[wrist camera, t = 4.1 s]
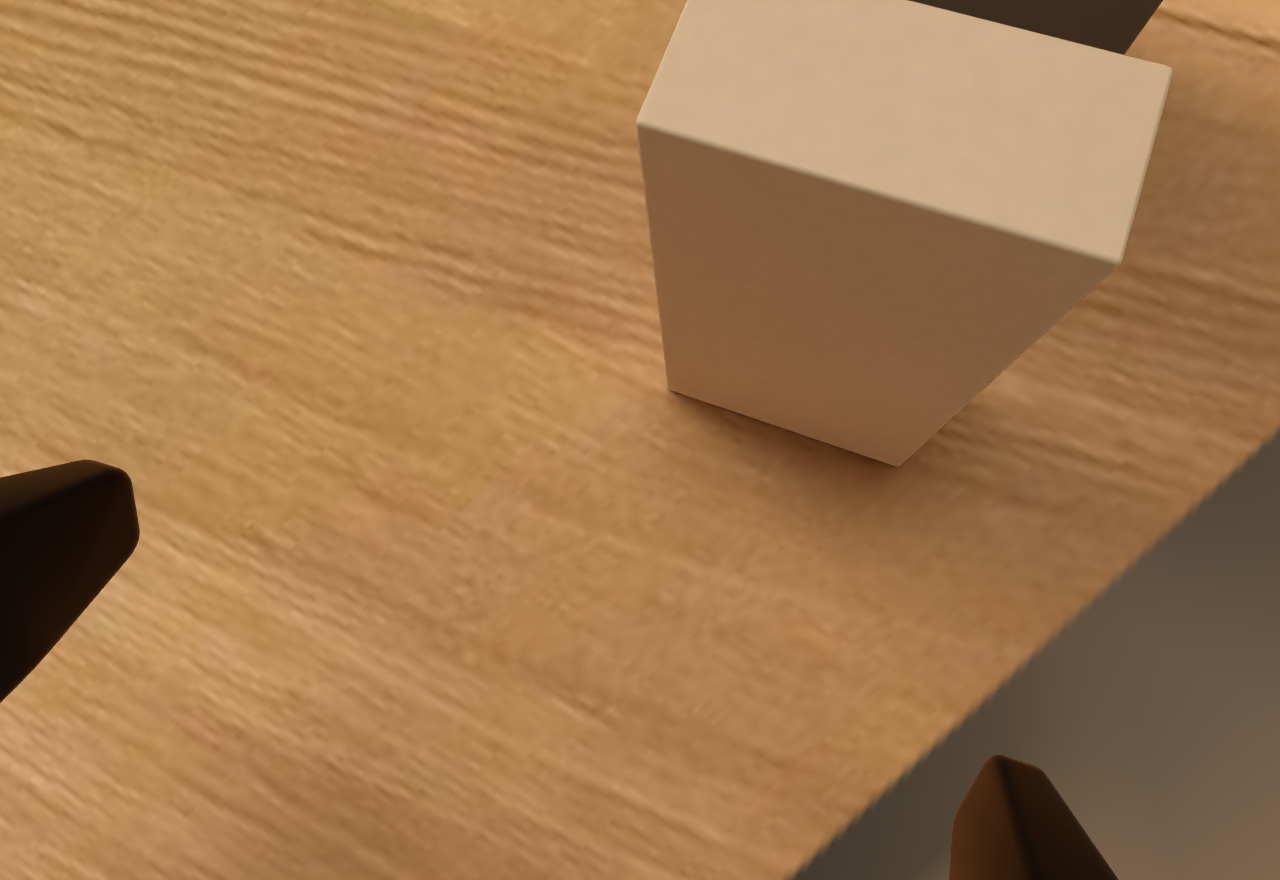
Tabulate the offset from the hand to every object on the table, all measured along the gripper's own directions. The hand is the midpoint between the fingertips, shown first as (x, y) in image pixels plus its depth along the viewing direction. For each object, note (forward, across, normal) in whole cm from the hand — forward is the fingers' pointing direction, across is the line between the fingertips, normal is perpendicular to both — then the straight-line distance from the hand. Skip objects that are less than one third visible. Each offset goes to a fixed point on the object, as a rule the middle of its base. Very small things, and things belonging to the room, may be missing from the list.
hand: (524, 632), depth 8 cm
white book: (+15, -2, +3) cm, 16 cm away
